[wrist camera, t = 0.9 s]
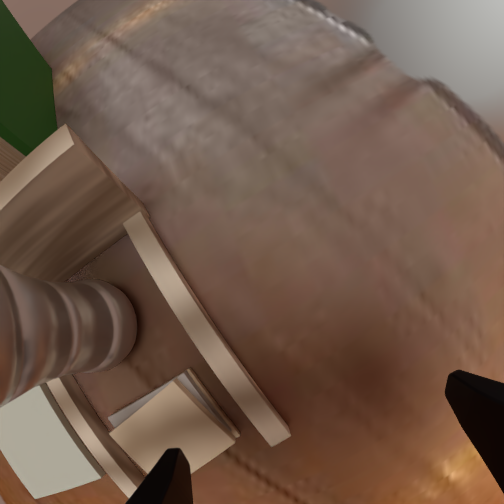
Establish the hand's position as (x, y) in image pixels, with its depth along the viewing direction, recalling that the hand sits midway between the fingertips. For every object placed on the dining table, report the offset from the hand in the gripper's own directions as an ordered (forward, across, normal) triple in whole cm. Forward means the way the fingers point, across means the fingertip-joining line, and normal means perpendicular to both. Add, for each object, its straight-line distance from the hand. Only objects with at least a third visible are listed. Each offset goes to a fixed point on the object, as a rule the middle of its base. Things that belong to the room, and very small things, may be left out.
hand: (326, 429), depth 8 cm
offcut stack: (+11, +9, +9) cm, 17 cm away
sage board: (+10, +25, +10) cm, 29 cm away
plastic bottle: (+15, +13, +1) cm, 19 cm away
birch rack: (+13, +11, +4) cm, 18 cm away
